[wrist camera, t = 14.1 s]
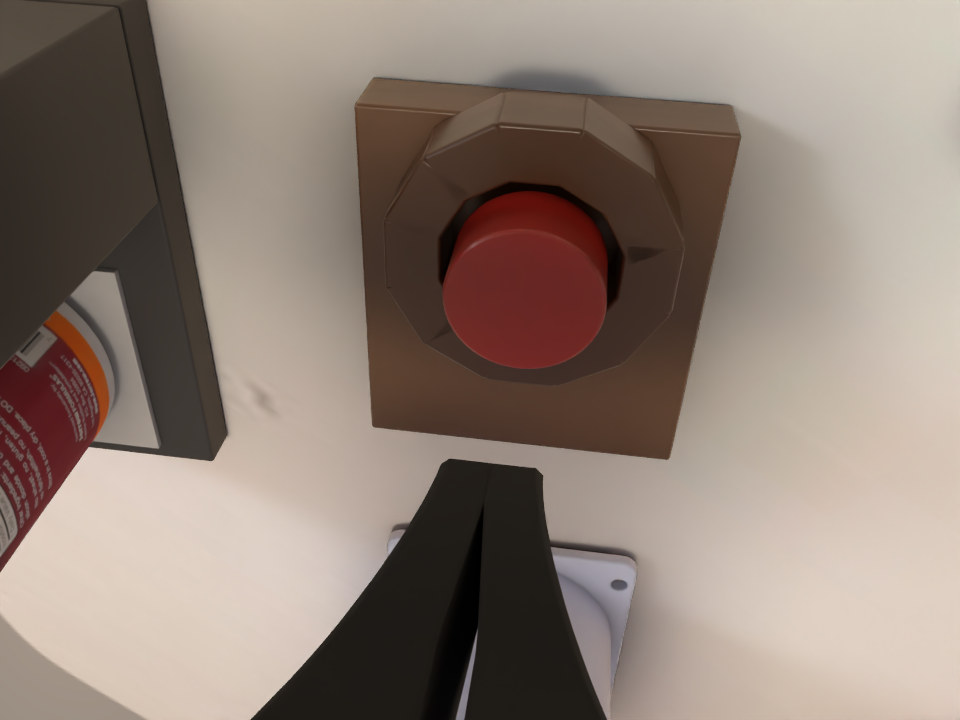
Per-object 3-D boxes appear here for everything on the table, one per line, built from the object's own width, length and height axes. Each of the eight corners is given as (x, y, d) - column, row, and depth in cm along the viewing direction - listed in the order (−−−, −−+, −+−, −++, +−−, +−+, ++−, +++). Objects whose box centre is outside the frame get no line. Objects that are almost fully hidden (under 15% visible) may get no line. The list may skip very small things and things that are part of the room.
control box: (666, 419, 24) (672, 511, 22) (384, 389, 25) (355, 474, 22) (738, 78, 19) (760, 143, 16) (370, 51, 19) (328, 109, 16)
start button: (598, 329, 19) (596, 378, 18) (454, 315, 19) (441, 362, 18) (617, 196, 17) (617, 238, 16) (456, 182, 17) (441, 222, 16)
